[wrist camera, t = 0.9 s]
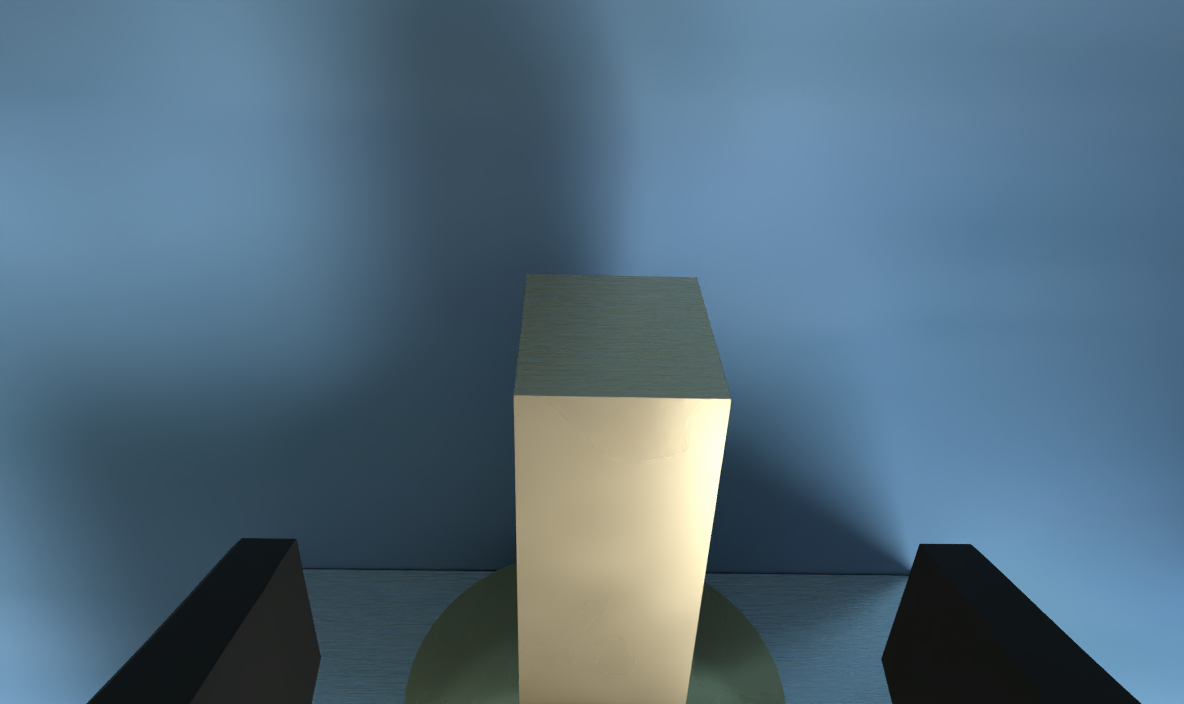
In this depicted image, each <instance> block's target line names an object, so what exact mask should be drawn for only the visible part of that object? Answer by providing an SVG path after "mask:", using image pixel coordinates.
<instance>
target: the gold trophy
mask: <svg viewBox="0 0 1184 704" xmlns="http://www.w3.org/2000/svg"><path fill="white" fill-rule="evenodd" d="M730 406H731V396H730V392H729V389H728V385H727V382H726V378H725V375H724V371H723V368H722V364H721V361H720V357H719V354H718V350H717V347H716V343H715V340H714V336H713V333H712V329H711V326H710V322H709V319H708V315H707V311H706V308H705V304H704V301H703V297H702V294H701V290H700V287H699V283H698V280H697V278H689V277H645V276H601V275H557V274H527V278H526V288H525V297H524V306H523V315H522V324H521V333H520V342H519V352H518V361H517V370H516V379H515V388H514V437H515V491H516V545H517V562H515V563H512V564H510V565H508V566H505V567H503V568H501V569H499V570H497V571H495V572H493V573H491V574H489V575H488V576H486V577H484V578H483V579H481V580H479V581H478V582H476V583H475V584H474V585H472V586H471V587H470V588H468V589H467V590H466V591H464V592H463V593H462V594H461V595H459V596H458V597H457V598H456V599H455V600H454V601H453V602H452V603H451V604H450V605H449V606H448V607H447V608H446V609H445V610H444V611H443V613H442V614H441V615H440V616H439V618H438V619H437V620H436V621H435V623H434V624H433V625H432V627H431V628H430V630H429V631H428V633H427V635H426V636H425V638H424V640H423V641H422V643H421V645H420V647H419V650H418V652H417V654H416V657H415V659H414V661H413V663H412V667H411V671H410V674H409V678H408V682H407V686H406V695H405V703H404V704H786V702H785V697H784V691H783V686H782V683H781V680H780V676H779V673H778V670H777V667H776V665H775V662H774V660H773V658H772V656H771V654H770V652H769V650H768V648H767V646H766V644H765V643H764V641H763V640H762V638H761V637H760V635H759V634H758V632H757V630H756V629H755V628H754V626H753V625H752V624H751V623H750V622H749V620H748V619H747V618H746V617H745V616H744V614H743V613H742V612H741V611H740V610H739V609H738V608H737V607H736V606H735V605H734V604H733V603H732V602H731V601H729V600H728V599H727V598H726V597H725V596H724V595H722V594H721V593H720V592H718V591H717V590H716V589H715V588H713V587H712V586H711V585H709V584H708V583H706V582H704V579H705V572H706V565H707V559H708V552H709V545H710V539H711V532H712V525H713V519H714V512H715V505H716V499H717V492H718V485H719V479H720V472H721V465H722V459H723V452H724V445H725V439H726V432H727V426H728V419H729V412H730Z"/></svg>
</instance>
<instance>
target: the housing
mask: <svg viewBox="0 0 1184 704" xmlns="http://www.w3.org/2000/svg"><path fill="white" fill-rule="evenodd" d="M493 572H495V571H413V570H317V569H303V574H304V579H305V583H306V588H307V593H308V598H309V602H310V607H311V612H312V616H313V621H314V626H315V631H316V635H317V640H318V645H319V650H320V654H321V661H320V666H319V670H318V675H317V680H316V685H315V690H314V695H313V700H312V704H404V703H405V695H406V686H407V682H408V678H409V674H410V671H411V667H412V663H413V661H414V659H415V657H416V654H417V652H418V650H419V647H420V645H421V643H422V641H423V640H424V638H425V636H426V635H427V633H428V631H429V630H430V628H431V627H432V625H433V624H434V623H435V621H436V620H437V619H438V618H439V616H440V615H441V614H442V613H443V611H444V610H445V609H446V608H447V607H448V606H449V605H450V604H451V603H452V602H453V601H454V600H455V599H456V598H457V597H458V596H459V595H461V594H462V593H463V592H464V591H466V590H467V589H468V588H470V587H471V586H472V585H474V584H475V583H476V582H478V581H479V580H481V579H483V578H484V577H486V576H488V575H489V574H491V573H493ZM908 577H909V576H892V575H796V574H705V579H704V582H706V583H708V584H709V585H711V586H712V587H713V588H715V589H716V590H717V591H718V592H720V593H721V594H722V595H724V596H725V597H726V598H727V599H728V600H729V601H731V602H732V603H733V604H734V605H735V606H736V607H737V608H738V609H739V610H740V611H741V612H742V613H743V614H744V616H745V617H746V618H747V619H748V620H749V622H750V623H751V624H752V625H753V626H754V628H755V629H756V630H757V632H758V634H759V635H760V637H761V638H762V640H763V641H764V643H765V644H766V646H767V648H768V650H769V652H770V654H771V656H772V658H773V660H774V662H775V665H776V667H777V670H778V673H779V676H780V680H781V683H782V686H783V691H784V697H785V702H786V704H892V701H891V697H890V693H889V689H888V685H887V681H886V677H885V673H884V669H883V665H882V660H881V658H882V655H883V652H884V649H885V646H886V643H887V640H888V637H889V634H890V631H891V628H892V625H893V622H894V619H895V616H896V613H897V610H898V607H899V604H900V601H901V598H902V595H903V592H904V589H905V586H906V583H907V580H908Z"/></svg>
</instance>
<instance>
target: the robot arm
mask: <svg viewBox="0 0 1184 704" xmlns="http://www.w3.org/2000/svg"><path fill="white" fill-rule="evenodd" d="M881 660H882V665H883V669H884V673H885V677H886V681H887V685H888V689H889V693H890V697H891V701H892V704H1141V703H1140V702H1139V701H1138V700H1137V699H1136V698H1134V697H1133V696H1132V695H1131V694H1130V693H1129V692H1128V691H1127V690H1126V689H1125V688H1123V687H1122V686H1121V685H1120V684H1119V683H1118V682H1117V681H1116V680H1115V679H1114V678H1113V677H1112V676H1110V675H1109V674H1108V673H1107V672H1106V671H1105V670H1104V669H1103V668H1102V667H1101V666H1100V665H1099V664H1097V663H1096V662H1095V661H1094V660H1093V659H1092V658H1091V657H1090V656H1089V655H1088V654H1087V653H1086V652H1085V651H1084V650H1083V649H1081V648H1080V647H1079V646H1078V645H1077V644H1076V643H1075V642H1074V641H1073V640H1072V639H1071V638H1070V637H1069V636H1068V635H1067V634H1066V633H1065V632H1063V631H1062V630H1061V629H1060V628H1059V627H1058V626H1057V625H1056V624H1055V623H1054V622H1053V621H1052V620H1051V619H1050V618H1049V617H1048V616H1047V615H1046V614H1045V613H1043V612H1042V611H1041V610H1040V609H1039V608H1038V607H1037V606H1036V605H1035V604H1034V603H1033V602H1032V601H1031V600H1030V599H1029V598H1028V597H1027V596H1026V595H1025V594H1024V593H1023V592H1022V591H1021V590H1019V589H1018V588H1017V587H1016V586H1015V585H1014V584H1013V583H1012V582H1011V581H1010V580H1009V579H1008V578H1007V577H1006V576H1005V575H1004V574H1003V573H1002V572H1001V571H999V570H998V569H997V568H996V567H995V566H994V565H993V564H992V563H991V562H990V561H989V560H988V559H987V558H986V557H984V556H983V555H982V554H981V553H980V552H979V551H978V550H977V549H976V548H975V547H973V546H972V545H971V544H919V547H918V550H917V553H916V556H915V559H914V562H913V565H912V568H911V571H910V574H909V577H908V580H907V583H906V586H905V589H904V592H903V595H902V598H901V601H900V604H899V607H898V610H897V613H896V616H895V619H894V622H893V625H892V628H891V631H890V634H889V637H888V640H887V643H886V646H885V649H884V652H883V655H882V658H881ZM320 661H321V654H320V650H319V645H318V640H317V635H316V631H315V626H314V621H313V616H312V612H311V607H310V602H309V598H308V593H307V588H306V583H305V579H304V574H303V569H302V564H301V560H300V555H299V550H298V545H297V541H296V539H257V538H242V539H241V540H240V541H239V542H237V543H236V544H235V545H234V546H233V547H232V548H231V549H230V550H229V551H228V553H227V554H226V555H225V556H224V557H223V558H222V559H221V560H220V561H219V562H218V563H217V565H216V566H215V567H214V568H213V569H212V570H211V571H210V572H209V573H208V575H207V576H206V577H205V578H204V579H203V580H202V581H201V582H200V583H199V584H198V586H197V587H196V588H195V589H194V590H193V591H192V592H191V593H190V594H189V596H188V597H187V598H186V599H185V600H184V601H183V602H182V603H181V604H180V605H179V607H178V608H177V609H176V610H175V611H174V612H173V613H172V614H171V615H170V616H169V617H168V618H167V620H166V621H165V622H164V623H163V624H162V625H161V626H160V627H159V628H158V629H157V630H156V631H155V633H154V634H153V635H152V636H151V637H150V638H149V639H148V640H147V641H146V642H145V643H144V644H143V645H142V647H141V648H140V649H139V650H138V651H137V652H136V653H135V654H134V655H133V656H132V657H131V658H130V659H129V660H128V661H127V662H126V663H125V664H124V665H123V666H122V667H121V668H120V669H119V670H118V671H117V673H116V674H115V675H114V676H113V677H112V678H111V679H110V680H109V681H108V682H107V683H106V684H105V685H104V686H103V687H102V688H101V689H100V690H99V691H98V692H97V693H96V694H95V695H94V696H93V698H92V699H91V700H90V701H89V702H88V703H87V704H312V700H313V695H314V690H315V685H316V680H317V675H318V670H319V666H320Z"/></svg>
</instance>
